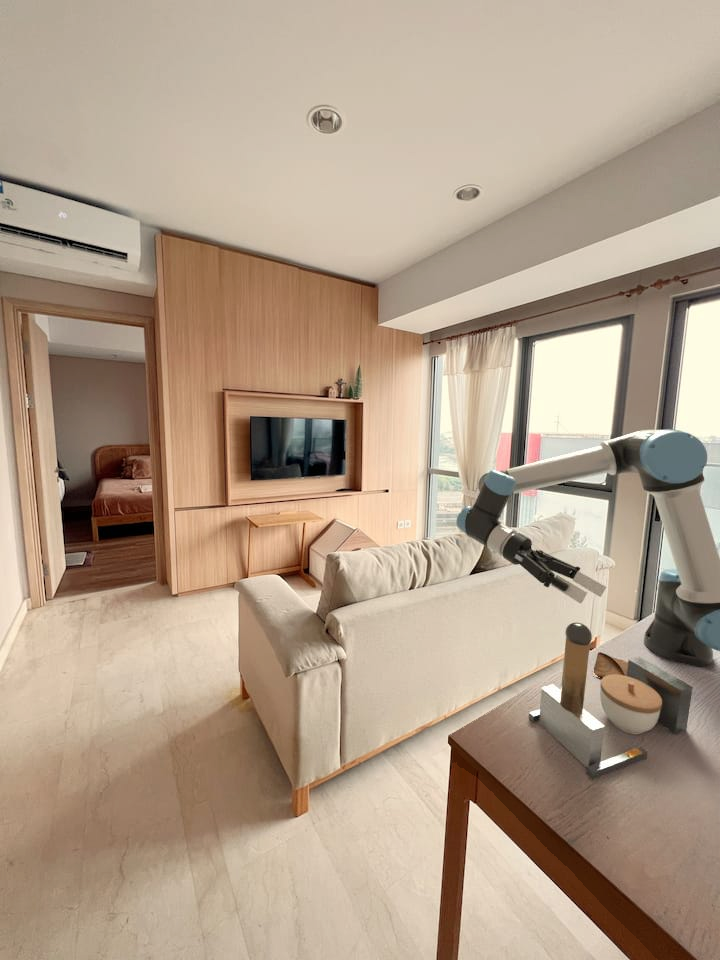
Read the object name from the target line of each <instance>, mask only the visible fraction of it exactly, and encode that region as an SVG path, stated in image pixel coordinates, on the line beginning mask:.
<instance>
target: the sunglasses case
mask: <svg viewBox="0 0 720 960" xmlns="http://www.w3.org/2000/svg"><path fill="white" fill-rule="evenodd" d="M627 668H628V662H627V661H625V660H621V659H618V658H615V657H613V656H610V655H609V654H606V653H603V652H601V651H600V652H598V653H597V656H596V660H595V663H594V667H593V669H594V673H595V675H597V676H598V677H600V678H603V677H605V676H607V675H623V676H627ZM600 678H599V679H600Z"/></svg>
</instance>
